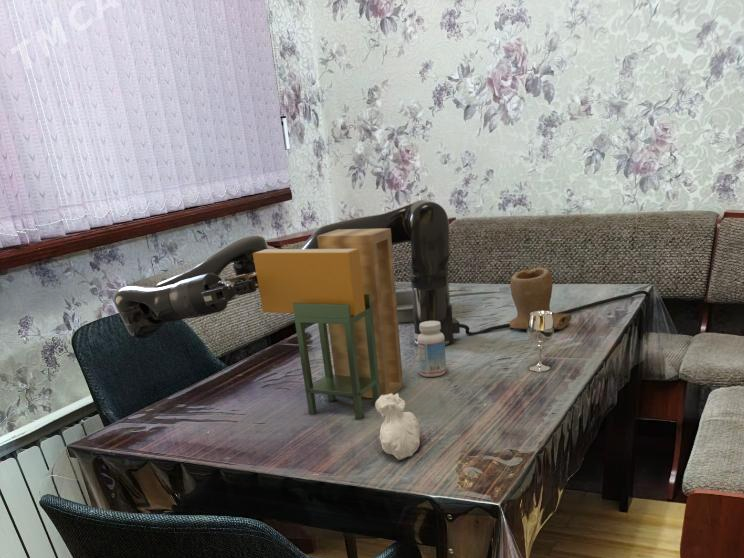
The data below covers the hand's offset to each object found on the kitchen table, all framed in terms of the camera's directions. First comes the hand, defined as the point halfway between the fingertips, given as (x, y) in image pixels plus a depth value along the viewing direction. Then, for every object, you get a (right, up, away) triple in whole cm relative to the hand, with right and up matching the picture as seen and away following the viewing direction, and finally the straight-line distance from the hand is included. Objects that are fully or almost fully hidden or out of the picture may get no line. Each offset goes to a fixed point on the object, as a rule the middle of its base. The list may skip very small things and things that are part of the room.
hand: (265, 279), depth 136 cm
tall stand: (+20, -18, +17) cm, 31 cm away
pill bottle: (+33, -13, +24) cm, 43 cm away
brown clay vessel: (+62, +4, +49) cm, 79 cm away
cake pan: (+28, +16, +74) cm, 81 cm away
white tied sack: (+26, -34, -12) cm, 45 cm away
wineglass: (+57, -12, +21) cm, 62 cm away
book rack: (+15, -23, +9) cm, 29 cm away
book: (+9, -6, +1) cm, 11 cm away
